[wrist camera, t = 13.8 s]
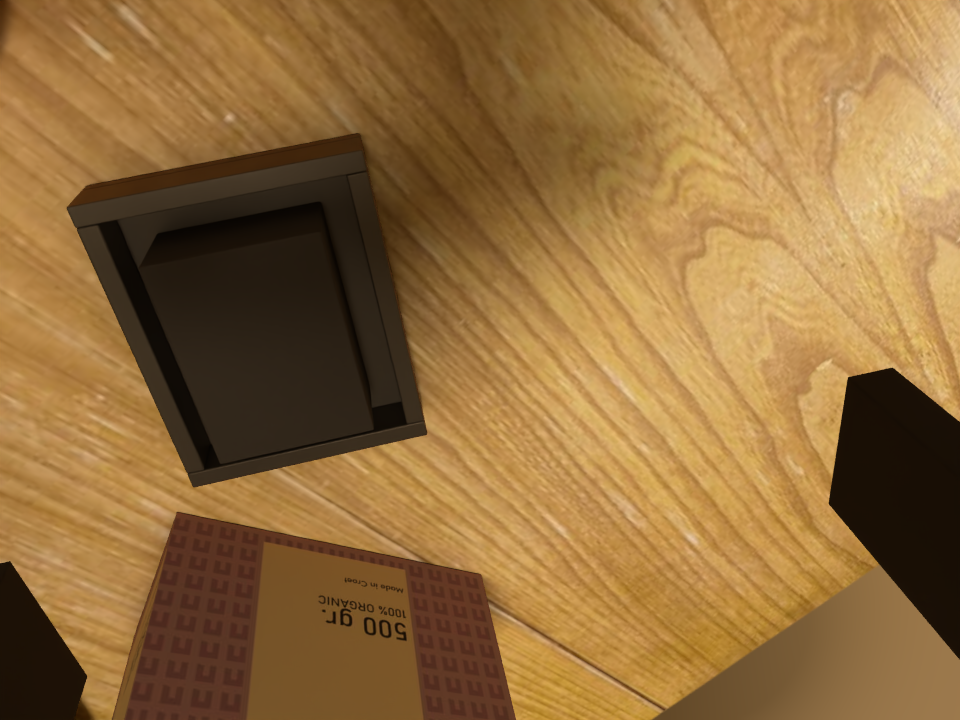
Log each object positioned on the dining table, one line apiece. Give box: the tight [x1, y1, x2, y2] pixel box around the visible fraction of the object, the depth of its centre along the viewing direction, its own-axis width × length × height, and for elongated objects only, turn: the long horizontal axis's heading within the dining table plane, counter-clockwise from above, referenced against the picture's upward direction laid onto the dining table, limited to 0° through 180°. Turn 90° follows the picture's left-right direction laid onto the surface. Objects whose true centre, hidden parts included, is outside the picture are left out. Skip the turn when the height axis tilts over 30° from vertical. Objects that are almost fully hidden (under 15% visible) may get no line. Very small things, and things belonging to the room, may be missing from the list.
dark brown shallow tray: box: [67, 134, 427, 487], centre depth 31 cm, size 13×11×3 cm
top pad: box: [139, 202, 374, 464], centre depth 30 cm, size 9×6×4 cm
